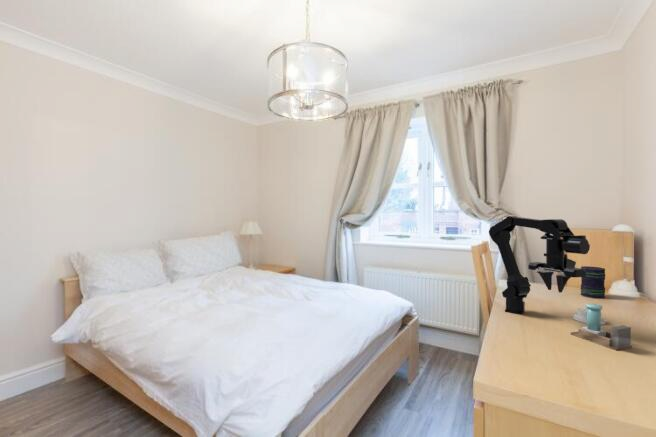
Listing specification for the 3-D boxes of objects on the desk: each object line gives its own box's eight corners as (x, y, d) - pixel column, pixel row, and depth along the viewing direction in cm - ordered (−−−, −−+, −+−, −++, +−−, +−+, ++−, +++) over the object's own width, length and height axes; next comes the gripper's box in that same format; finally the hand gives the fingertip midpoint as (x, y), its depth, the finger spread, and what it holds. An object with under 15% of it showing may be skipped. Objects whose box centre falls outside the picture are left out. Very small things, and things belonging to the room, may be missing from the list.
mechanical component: (582, 324, 121) (611, 326, 119) (582, 313, 121) (611, 315, 119) (568, 316, 131) (595, 318, 129) (568, 306, 131) (595, 307, 129)
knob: (581, 334, 109) (581, 303, 108) (590, 332, 110) (590, 302, 110) (597, 339, 104) (597, 308, 104) (606, 338, 105) (606, 306, 105)
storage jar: (600, 295, 164) (601, 267, 164) (608, 299, 155) (609, 270, 155) (577, 293, 168) (577, 265, 168) (583, 297, 159) (584, 268, 159)
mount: (570, 334, 111) (570, 315, 110) (585, 331, 113) (585, 313, 113) (616, 350, 97) (616, 329, 97) (632, 347, 100) (632, 327, 99)
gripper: (596, 253, 114) (596, 295, 114) (547, 248, 132) (547, 284, 132) (574, 254, 110) (574, 297, 111) (527, 249, 128) (527, 286, 128)
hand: (554, 291), depth 120 cm, fingers open, 4 cm apart
